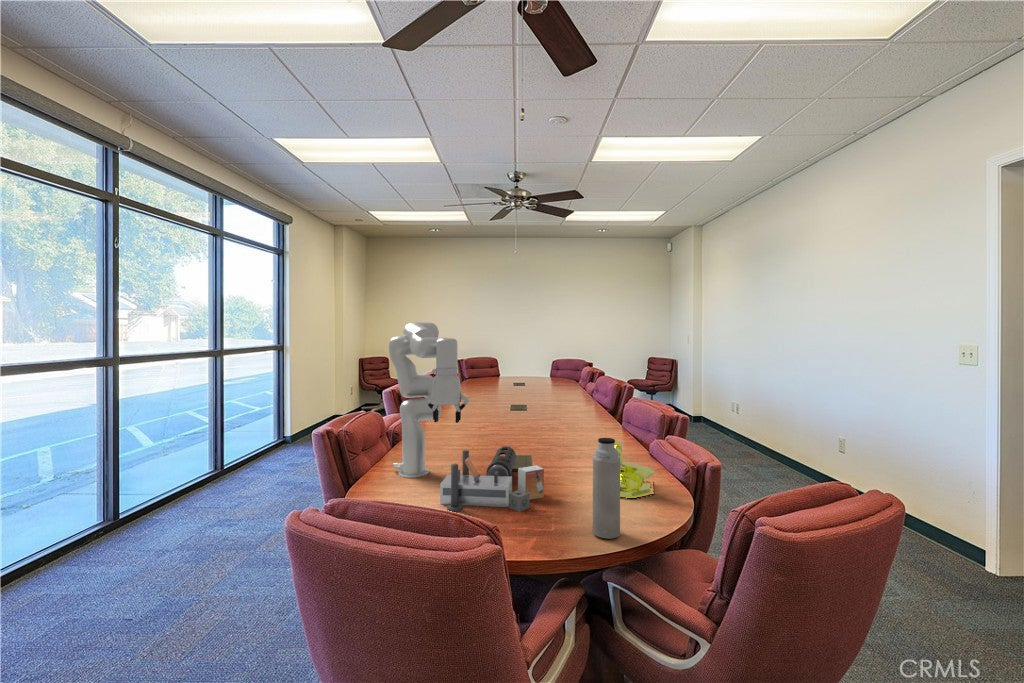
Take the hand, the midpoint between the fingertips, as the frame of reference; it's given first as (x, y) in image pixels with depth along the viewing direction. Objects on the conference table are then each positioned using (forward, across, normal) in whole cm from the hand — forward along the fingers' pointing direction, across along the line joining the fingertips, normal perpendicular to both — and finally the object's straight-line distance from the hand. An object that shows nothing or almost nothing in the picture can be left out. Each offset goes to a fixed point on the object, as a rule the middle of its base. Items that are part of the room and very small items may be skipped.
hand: (446, 421), depth 157 cm
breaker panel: (+28, +11, 0) cm, 30 cm away
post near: (+28, +5, -9) cm, 30 cm away
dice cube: (+28, +27, -6) cm, 39 cm away
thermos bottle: (+28, +54, -22) cm, 65 cm away
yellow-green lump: (+28, +67, +19) cm, 76 cm away
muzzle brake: (+28, +17, +24) cm, 41 cm away
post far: (+28, +5, +9) cm, 30 cm away
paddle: (+20, +11, 0) cm, 23 cm away
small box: (+28, +30, +5) cm, 41 cm away
